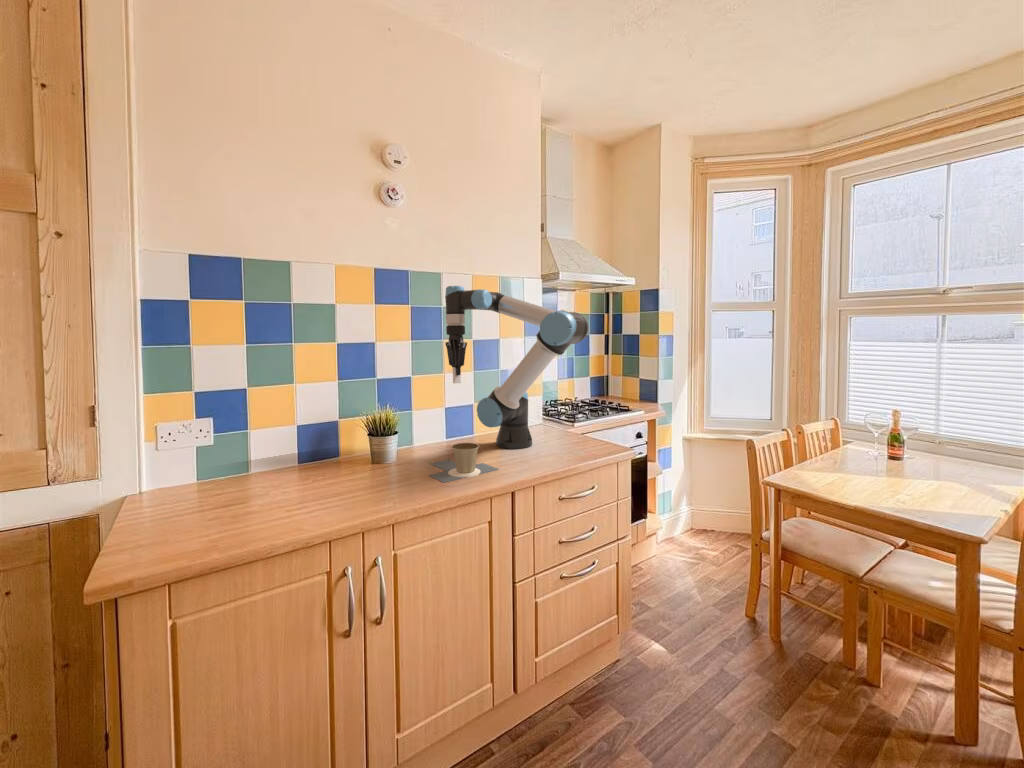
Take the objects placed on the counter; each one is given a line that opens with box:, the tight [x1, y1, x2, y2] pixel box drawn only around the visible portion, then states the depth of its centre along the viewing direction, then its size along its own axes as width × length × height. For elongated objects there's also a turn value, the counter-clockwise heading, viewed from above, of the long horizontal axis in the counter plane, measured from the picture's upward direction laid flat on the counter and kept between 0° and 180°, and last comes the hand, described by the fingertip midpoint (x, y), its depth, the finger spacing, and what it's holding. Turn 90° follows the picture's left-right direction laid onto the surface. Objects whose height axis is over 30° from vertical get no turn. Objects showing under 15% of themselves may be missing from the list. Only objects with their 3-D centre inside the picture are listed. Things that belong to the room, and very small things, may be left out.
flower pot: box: [450, 442, 480, 473], centre depth 157 cm, size 9×9×9 cm
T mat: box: [427, 458, 500, 484], centre depth 161 cm, size 22×22×1 cm
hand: (456, 383), depth 190 cm, fingers closed
